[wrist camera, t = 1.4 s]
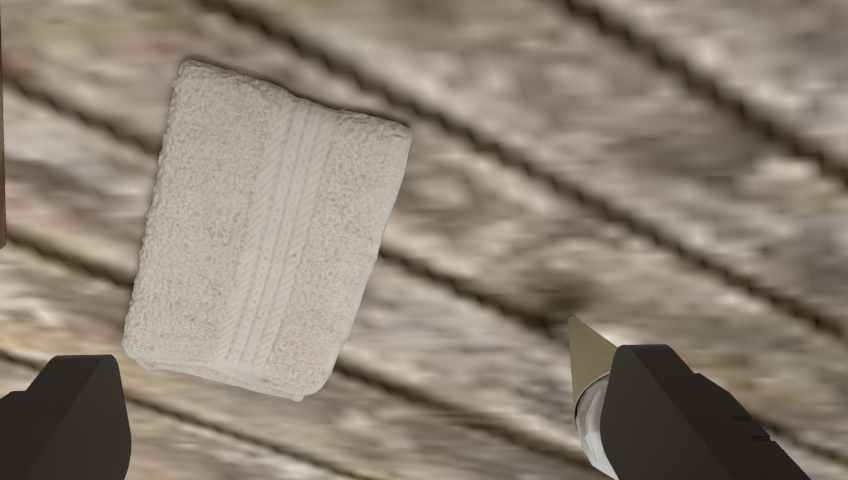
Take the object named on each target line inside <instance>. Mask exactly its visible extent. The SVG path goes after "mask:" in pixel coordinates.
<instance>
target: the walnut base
mask: <svg viewBox="0 0 848 480" xmlns="http://www.w3.org/2000/svg"><path fill="white" fill-rule="evenodd" d="M5 245H6V222H5V183H4V144H3V105H2V66H1V27H0V249H1V248H3V247H4V246H5Z"/></svg>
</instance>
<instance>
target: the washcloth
mask: <svg viewBox="0 0 848 480" xmlns="http://www.w3.org/2000/svg"><path fill="white" fill-rule="evenodd" d="M172 87H173V88H174V91H173V93H172V94H171V102H170V106H169V110H168V120H167V124H166V125H167V130H166V131H165V133H164V135H163V141H162V144H163V148H162V150H161V152H160V153H159V154H160V156H159V160H158V165H159V168H158V172H157V181H156V183H155V186H154V188H153V201H152V203H151V205H150V208H149V210H148V211H147V214H146V215H145V217H146V218H147V221H146V228H145V230H146V234H145V237H144V238H143V246H142V248H141V250H140V252H139V257H140V258H139V269H138V272H137V275H136V278H135V280H134V286H133V293H132V299H131V301H130V303H129V304H130V308H129V312H128V314H127V315H126V317H125V320H126V321H125V328H124V333H123V336H122V337H123V340H122V342H121V344H122V346H121V347H122V349H123V353H124V354H125V355H126V356H127V357H129V358H133V359H135V360H136V362H137V363H138V364H139V365H140V366H141V367H143V368H144V369H145V370H148V371H153V370H162V369H166V370H171V371H175V372H183V373H188V374H192V375H195V376H199V377H202V378H206V379H211V380H214V381H219V382H223V383H227V384H230V385H234V386H238V387H242V388H245V389H249V390H252V391H256V392H260V393H265V394H270V395H276V396H279V397H285V398H289V399H292V400H294V401H302V399H303V398H304V396H305V395H311V394H313V393H316V392H317V391H318V390H319V389H321V388H322V387H323V385H324V384H325V382H326V381H327V379H328V377H329V376H330V374H331V373H332V370H333V367H334V364H335V362H336V359H337V357H338V354H339V352H340V351H341V349H342V346H343V344H344V342H345V340H347V339H348V338H349V335H350V333H351V330H352V326H353V324H354V320H355V318H356V314H357V312H358V309H359V305H360V303H361V299H362V296H363V293H364V290H365V287H366V284H367V281H368V279H369V276H370V273H371V271H372V269H373V265H374V263H375V262H376V260H377V255H378V251H379V247H380V244H381V240H382V237H383V234H384V230H385V227H386V224H387V221H388V218H389V216H390V214H391V211H392V209H393V206H394V203H395V201H396V198H397V195H398V192H399V188H400V185H401V183H402V180H403V177H404V173H405V169H406V166H407V159H408V153H409V149H410V146H411V144H412V139H413V133H414V130H413V129H411V128H408V127H405V126H403V125H401V124H399V123H398V122H394V121H389V120H385V119H383V118H378V117H373V116H369V115H368V114H364V113H357V112H352V111H346V110H344V109H341V110H339V111H337V110H334V109H330V108H327V107H324V106H322V105H320V104H317V103H312V102H311V101H310V100H307V99H304V98H297V97H295V96H294V95H292V94H290V93H288V92H287V90H286V89H284V88H282V87H279V86H277V85H274V84H272V83H269V82H267V81H263V80H258V79H255V78H253V77H251V76H249V75H242V74H239V73H236V72H235V71H234V70H224V69H223V68H221V67H218V66H213V65H212V64H207V63H203V62H199V61H196V60H190V59H187V60H185V61H182V62H181V64H180V67H179V70H178V78H177V79H175V80H173V84H172Z"/></svg>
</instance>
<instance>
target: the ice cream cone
mask: <svg viewBox="0 0 848 480" xmlns="http://www.w3.org/2000/svg"><path fill="white" fill-rule="evenodd" d="M568 331H569V345H570V359H571V374H572V384H573V398H574V407H573V413H572V417H573V424H574V426H575V429H576V430H577V432H578V433H579V437H580V441H581V446H582V448H583V450H584V452H585V454H586V455H587V457H588V459H589V460H590V462H591V464H592V465H593V466H594V467H596V468H597V469H599V470H601V471H602V472H604V473H605V474H607V475H609V476H610V477H612V478H614V479H615V480H619V479H618V477H617V475H616V474H615V472H614V470H613V468H612V466H611V464H610V463H609V461H608V459H607V457H606V455H605V452H604V450H603V446H602V442H601V437H600V417H601V412H602V408H603V403H604V398H605V394H606V389H607V385H608V380H609V376H610V371H611V366H612V362H613V358H614V354H615V352H616V350H617V349H618V347H616V346H615V345H614V344H612V343H611V342H609V341H608V340H607V339H605V338H604V337H602V336H601V335H600V334H598V333H597V332H595V331H594V330H592V329H591V328H590V327H588V326H587V325H585V324H584V323H583V322H581V321H580V320H578V319H577V318H576V317H574V316H570V317H569V318H568Z"/></svg>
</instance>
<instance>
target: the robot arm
mask: <svg viewBox="0 0 848 480" xmlns="http://www.w3.org/2000/svg"><path fill="white" fill-rule="evenodd" d="M600 437H601V442H602V446H603V450H604V452H605V455H606V457H607V459H608V461H609V463H610V464H611V466H612V468H613V470H614V472H615V474H616V475H617V477H618V479H619V480H811V479H810V478H809V477H808V476H807V475H806V474H805V473H804V472H803V470H802V469H801V468H800V467H799V466H798V465H797V464H796V463H795V462H794V461H793V460H792V459H791V458H790V457H789V456H788V454H787V453H786V452H785V451H784V450H783V449H782V448H781V447H780V446H779V445H778V444H777V443H776V442H775V441H771V440H770V435H769V434H768V433H767V432H766V431H765V430H764V429H763V428H762V427H761V426H760V425H759V424H758V423H757V421H752V419H751V415H750V414H749V413H748V412H747V411H746V410H745V409H744V408H743V407H742V405H741V404H740V403H739V402H738V401H737V400H736V399H735V398H734V397H733V396H732V395H731V394H730V393H729V392H728V391H726V390H724V389H723V388H721V387H720V386H718V385H717V384H715V383H714V382H712V381H711V380H709V379H707V378H706V377H704V376H703V375H701V374H700V373H695V374H694V373H693V371H692V370H691V369H690V368H689V367H688V366H687V365H686V364H685V363H684V361H683V360H682V359H681V358H680V357H679V356H678V355H677V354H676V352H675V351H674V350H673V349H672V348H671V347H669V346H668V345H665V344H652V345H621V346H620V347H618V349H617V350H616V352H615V354H614V358H613V362H612V366H611V371H610V376H609V380H608V385H607V389H606V394H605V398H604V403H603V408H602V412H601V417H600ZM130 455H131V433H130V427H129V421H128V416H127V410H126V405H125V399H124V394H123V388H122V383H121V377H120V372H119V367H118V363H117V361H116V359H115V357H114V356H112V355H64V356H55V357H53V358H52V359H51V360H50V361H49V362H48V363H47V365H46V366H45V367H44V368H43V370H42V371H41V372H40V373H39V375H38V376H37V377H36V378H35V380H34V381H33V382H32V383H31V385H30V386H29V387H28V388H27V390H26V391H12V392H10V393H9V394H7V395H6V396H4V397H3V398H1V399H0V480H124V479H125V476H126V473H127V470H128V466H129V461H130Z"/></svg>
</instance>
